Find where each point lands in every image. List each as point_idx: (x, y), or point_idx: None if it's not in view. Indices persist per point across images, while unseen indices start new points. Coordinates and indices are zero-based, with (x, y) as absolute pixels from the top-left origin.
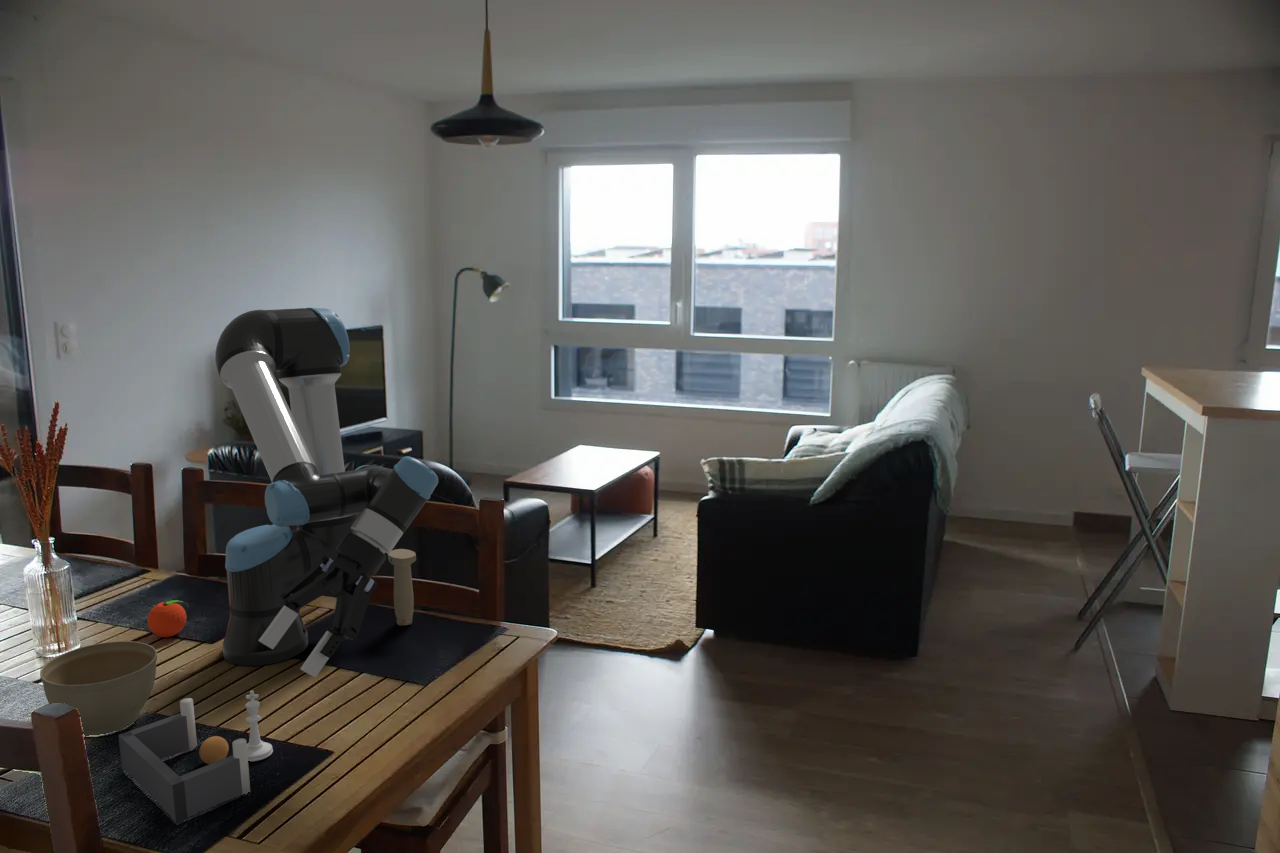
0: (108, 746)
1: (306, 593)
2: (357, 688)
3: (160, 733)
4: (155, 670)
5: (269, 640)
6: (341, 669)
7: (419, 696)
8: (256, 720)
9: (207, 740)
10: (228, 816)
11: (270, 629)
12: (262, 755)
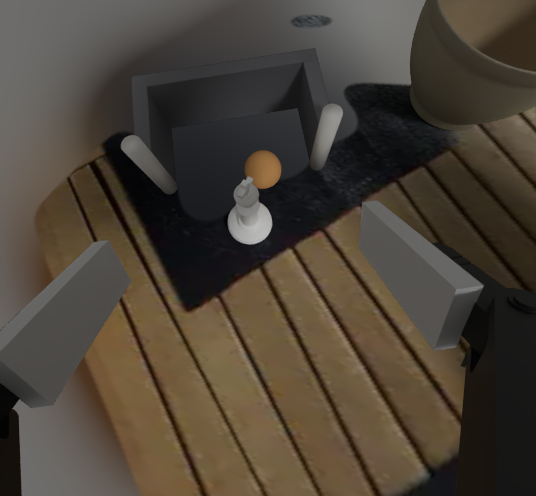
0: (382, 93)
1: (487, 452)
2: (367, 433)
3: (308, 102)
4: (494, 95)
5: (368, 231)
6: None
7: None
8: (236, 205)
9: (263, 153)
10: None
11: (384, 225)
12: (228, 223)
